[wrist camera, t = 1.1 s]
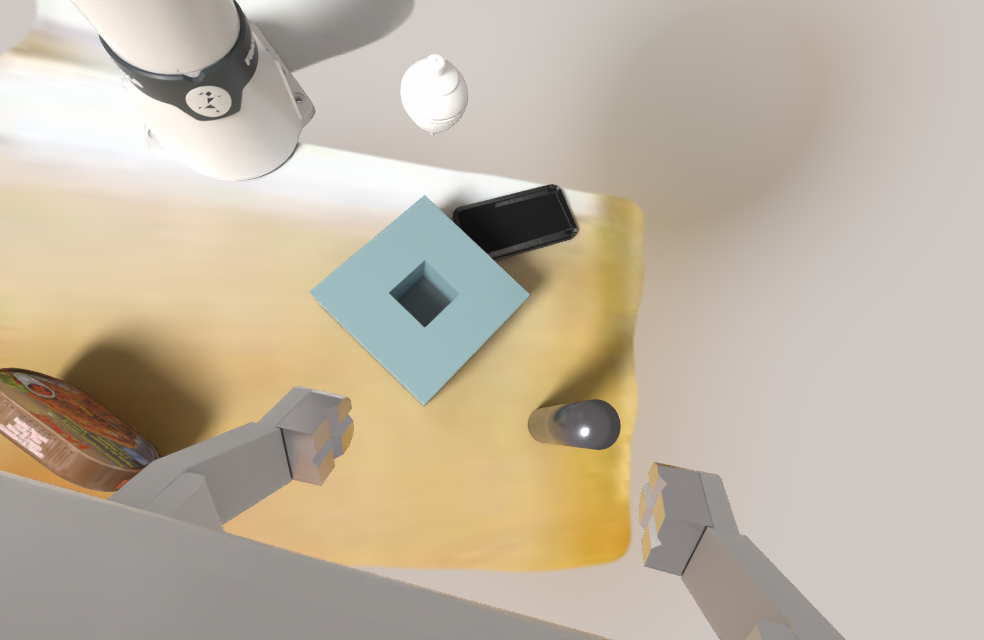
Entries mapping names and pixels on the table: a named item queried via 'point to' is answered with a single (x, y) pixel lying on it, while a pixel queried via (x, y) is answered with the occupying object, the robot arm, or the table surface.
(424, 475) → the table surface
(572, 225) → the phone
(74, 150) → the table surface
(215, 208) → the table surface
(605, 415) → the pin
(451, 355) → the hole block
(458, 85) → the spinning top
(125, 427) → the tin
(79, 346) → the table surface
